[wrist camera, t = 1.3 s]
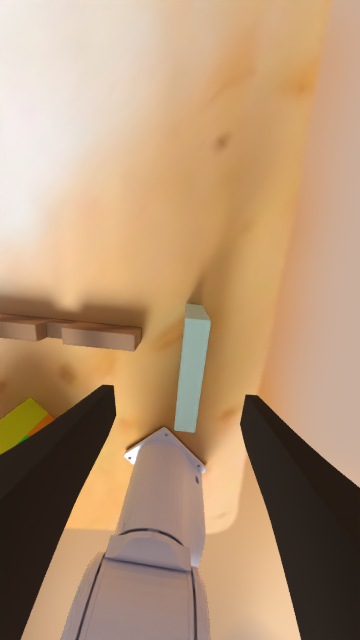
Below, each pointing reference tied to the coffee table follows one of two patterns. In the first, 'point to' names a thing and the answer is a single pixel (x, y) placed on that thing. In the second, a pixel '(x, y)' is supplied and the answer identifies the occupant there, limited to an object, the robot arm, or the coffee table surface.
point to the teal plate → (191, 367)
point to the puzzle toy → (22, 424)
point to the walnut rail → (70, 332)
